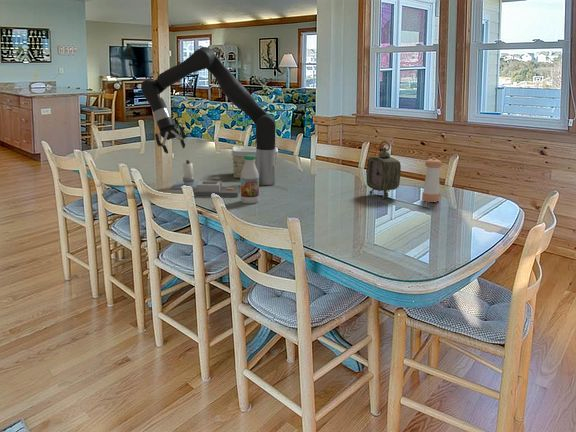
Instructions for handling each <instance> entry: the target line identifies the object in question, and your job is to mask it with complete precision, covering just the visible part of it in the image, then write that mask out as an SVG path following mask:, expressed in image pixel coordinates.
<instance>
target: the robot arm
mask: <svg viewBox="0 0 576 432" xmlns="http://www.w3.org/2000/svg"><path fill="white" fill-rule="evenodd" d="M202 70H207V71H208V72H209V73H210V74H211V75H212V76H213V77H214V78H215V80H216V81H217V83H218V86H219V88H220V90H221V92H222V94H224V95H225V96H226V97H227V99H228V100H229V101H230V102H231V103H232V104H233V105H234V106H236V107H237V108H238V109H239V110H241V111H242V112H243V113H244V114H246V116H248V118H249V119H250V120H251V122H253V124H254V125H255V145H256V146H255V147H256V168H257V171H258V174H259V186H275V185H276V171H275V147H276V120H275V118H274V117H272V116H271V115H270V114H269V113H268V112H267V111H266V110H265V109H263V108H262V107H261V106H260V105H259V104H258V103H257V101H256V100H255V98H254V97H253V96H252V95H251V93H250V91H248V89H247V88H246V87H245V86H244V85H243V84H242V83H241V82H240V81H239V80H238V79H237V78H236V77H235V76H234V74H232V72H231V71H230V70H229V69H228V68H227V67H226V66H225V65H224V63H222V61H221V59H219V57H218V55H216V53H215V51H214V50H212V49H211V48H210V47H207V46H202V47H200V48H198V49H196V50H194V52H193V53H192V54H190V55H189V56H188V57H187V58H186V59H185V60H184V61H182V62H180V63H179V64H177V65H174V66H171V67H169V68H168V69H166V70H164V71H163V72H161V73H159V74H158V75H157V78H156V79H154V80H151V79H145V80H142V82H141V85H140V89H141V93H142V95H143V96H144V99H146V101H147V103H148V104H149V105H150V107H151V108H150V109H151V111H152V112H153V116H154V120H155V123H156V125H157V128H158V130H159V133H155V134H154V139H155V141H156V144H157V147H161V148H162V150H163V152H164V154H169V150H168V148H167V145H166V143H167V141H170V140H172V139H177V140H179V142H180V145H181V147H182V149H186V148H185V147H186V143H185V141H184V140H185V139H186V137H187V135H186V133H185V130H184V129H183V126H182V125H180V126H178V127H176V126H175V124H174V121H173V119H172V116H171V114H170V111H169V110H168V107H167V104H166V102H165V100H164V99H163V97H161V96H159V95H160V94H162V93H163V92H164V91H165V90H166V89H167V88H169V87H171V86H172V85H174V84H176V83H178V82H179V81H181V80H183V78H186V77H188V76H189V75H190V74H193V73H196V72H198V71H202ZM177 132H179V133H180V134H181V135H180V134H178V133H177ZM161 137H162V138H163V139H162V143H161V140H160V138H161Z"/></svg>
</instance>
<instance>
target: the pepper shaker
mask: <svg viewBox="0 0 576 432" xmlns="http://www.w3.org/2000/svg"><path fill="white" fill-rule="evenodd" d="M424 165H425V167H426V170H425V171H426V173H425V179H424V183H423V191H422V195H421V196H422V197H421V201H422V200H423V202H424V201H426V202H425V203H429V202H434V201H438V200H439V201H440V196H441V195H440V170H441V167H442V166H443V162H442V161H441V160H440V159H438V158H436V157H432V158H429V159H427V160H426V161H425V164H424Z"/></svg>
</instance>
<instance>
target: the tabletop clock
mask: <svg viewBox="0 0 576 432" xmlns="http://www.w3.org/2000/svg"><path fill="white" fill-rule="evenodd" d="M384 143H385V144H387V145H388V148H387V147H386V146H385V147H382V145H383V144H384ZM390 146H391V145H390V143H389V142H388V141H386V140H382V141H381V143H380V149H381V150H382V151H381V152H379V154H378V156H370V157H368V159H367V163H366V164H367V166H366V184H367V187H369V188H370V189H371V190H369V192H368V193H369V194H370V195H372V194H374V191H379V192H381V191H383V195H382V196H381V198H382V199H383V200H385V199H386V198H387V196H388V195H389V193H388V192H387V191H395V190H396V189H398V188H399V187H400V183H401V171H402V170H401V169H402V167H401V161H399V160H398V159H396V158H395V157H392V156H391V154H390V152H388V151H389V150H390Z"/></svg>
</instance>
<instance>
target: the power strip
mask: <svg viewBox="0 0 576 432" xmlns="http://www.w3.org/2000/svg"><path fill="white" fill-rule="evenodd" d="M198 182H199V183H198V184H197V186H196V187H195V189H194V190H192V191H193V192H194V195H195V196H194V197H197V198H198V197H201V198H202V197H203V198H204V197H205V198H206V197H208V198H212V197H211V194H212V193H215V194H217V195H219V196H220V197H219V198H238V197H239V196H240V195H239V194H240V193H241V186H223V183H222V182H223V181H222V180H200V181H198Z"/></svg>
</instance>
